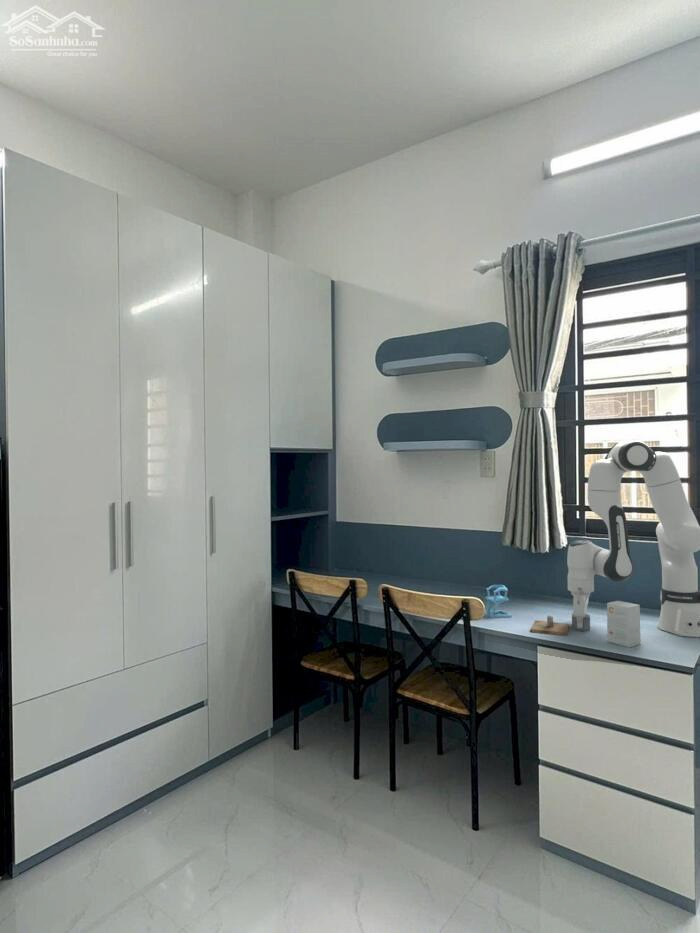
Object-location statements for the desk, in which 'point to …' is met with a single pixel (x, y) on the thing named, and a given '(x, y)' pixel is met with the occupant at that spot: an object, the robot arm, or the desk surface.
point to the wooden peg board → (550, 627)
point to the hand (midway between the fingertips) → (581, 623)
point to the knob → (585, 623)
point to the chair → (496, 601)
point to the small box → (623, 623)
